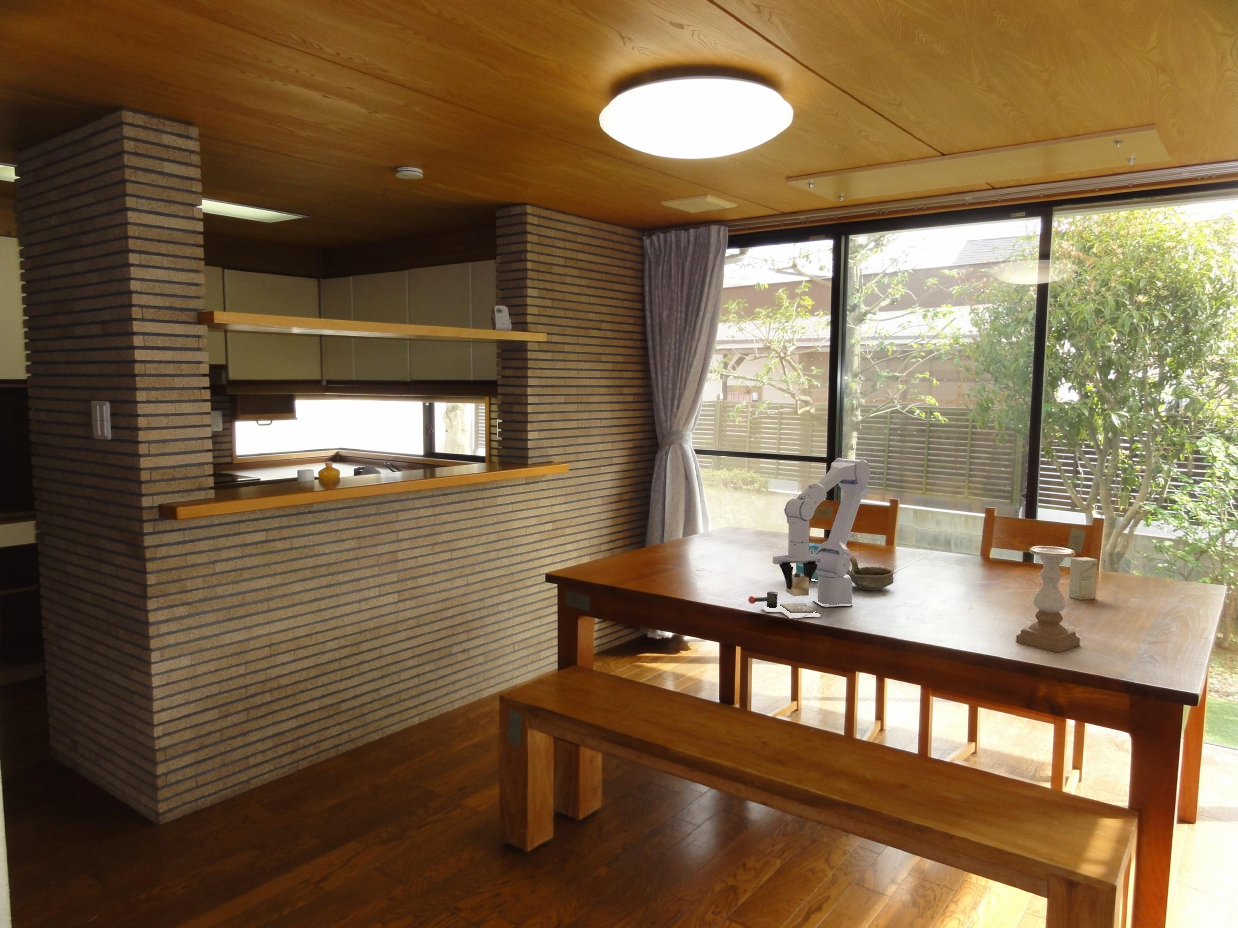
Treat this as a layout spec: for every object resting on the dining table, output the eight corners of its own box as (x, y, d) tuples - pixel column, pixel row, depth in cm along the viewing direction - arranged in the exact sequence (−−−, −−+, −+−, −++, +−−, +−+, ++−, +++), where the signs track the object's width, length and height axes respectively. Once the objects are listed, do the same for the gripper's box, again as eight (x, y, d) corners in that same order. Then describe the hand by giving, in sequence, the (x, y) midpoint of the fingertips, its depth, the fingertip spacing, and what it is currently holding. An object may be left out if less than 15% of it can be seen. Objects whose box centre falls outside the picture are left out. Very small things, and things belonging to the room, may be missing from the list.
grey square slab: (804, 606, 243) (804, 601, 243) (820, 617, 231) (820, 611, 231) (761, 608, 241) (761, 603, 240) (775, 619, 229) (775, 614, 229)
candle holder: (1058, 653, 200) (1063, 555, 198) (1014, 642, 209) (1018, 548, 206) (1080, 644, 206) (1085, 550, 204) (1037, 634, 215) (1041, 543, 213)
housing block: (801, 590, 239) (801, 571, 239) (808, 595, 234) (809, 575, 233) (786, 591, 238) (786, 571, 238) (793, 596, 233) (793, 575, 232)
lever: (775, 604, 240) (775, 591, 239) (778, 607, 237) (779, 593, 236) (746, 606, 238) (746, 592, 238) (750, 608, 235) (750, 595, 235)
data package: (795, 579, 278) (796, 544, 277) (800, 576, 281) (801, 541, 280) (829, 584, 271) (830, 547, 270) (834, 581, 274) (835, 545, 273)
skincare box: (1079, 600, 249) (1081, 560, 248) (1067, 596, 254) (1069, 557, 253) (1096, 598, 251) (1098, 559, 250) (1084, 595, 255) (1086, 556, 254)
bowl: (882, 596, 254) (882, 564, 253) (831, 587, 266) (831, 556, 266) (902, 588, 264) (903, 558, 263) (852, 580, 276) (853, 550, 275)
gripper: (817, 537, 239) (816, 583, 241) (769, 539, 237) (768, 585, 238) (827, 542, 233) (826, 589, 234) (778, 543, 230) (777, 591, 231)
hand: (797, 588), depth 236 cm, fingers closed on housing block, 5 cm apart
